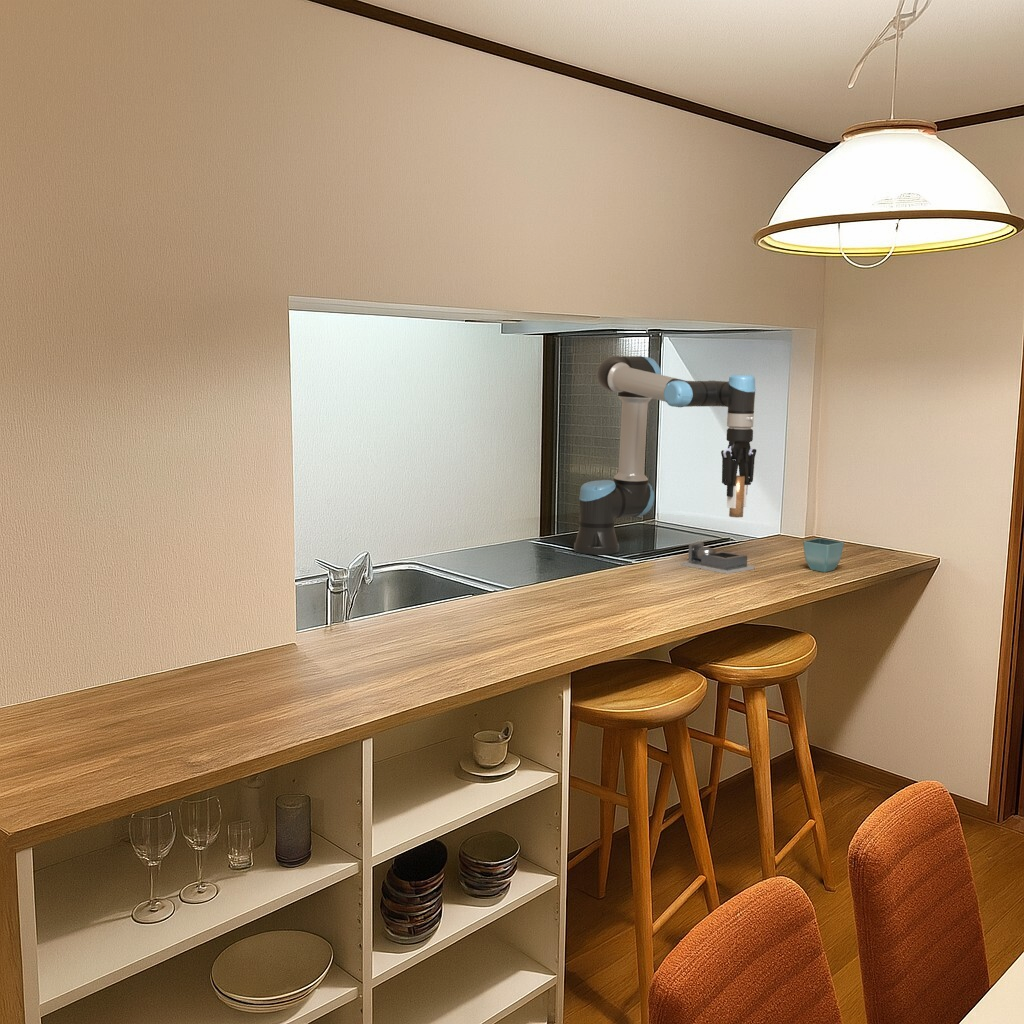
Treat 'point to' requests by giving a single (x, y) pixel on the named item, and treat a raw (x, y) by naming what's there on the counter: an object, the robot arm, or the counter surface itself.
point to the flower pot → (823, 554)
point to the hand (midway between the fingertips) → (736, 506)
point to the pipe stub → (738, 497)
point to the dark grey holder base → (715, 560)
